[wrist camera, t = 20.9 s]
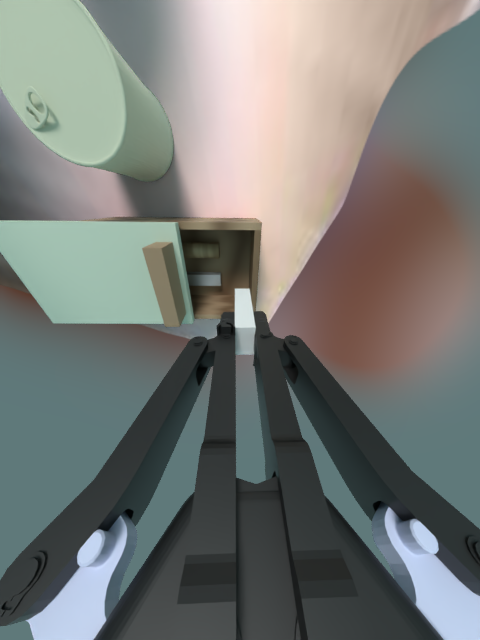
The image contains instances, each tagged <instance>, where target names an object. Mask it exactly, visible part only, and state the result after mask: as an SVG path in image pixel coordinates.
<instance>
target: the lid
mask: <svg viewBox="0 0 480 640" xmlns="http://www.w3.org/2000/svg"><path fill="white" fill-rule="evenodd" d="M0 252H1V254H2V255H3V256H4V258H5V259H6V260H7V262H8V263H9V264H10V266H11V267H12V268H13V270H14V271H15V272H16V274H17V275H18V276H19V278H20V279H21V280H22V282H23V283H24V285H25V286H26V287H27V289H28V290H29V291H30V293H31V294H32V295H33V297H34V298H35V299H36V301H37V302H38V303H39V305H40V306H41V307H42V309H43V310H44V311H45V313H46V314H47V316H48V317H49V318H50V320H51V321H52V322H53V323H101V324H102V323H104V324H105V323H106V324H108V323H109V324H116V323H117V324H118V323H119V324H164V325H165V327H180V325H181V324H193V322H194V320H195V319H194V314H193V308H192V302H191V296H190V290H189V284H188V278H187V272H186V266H185V260H184V254H183V249H182V243H181V237H180V231H179V225H178V222H118V221H23V220H0Z"/></svg>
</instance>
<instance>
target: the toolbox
mask: <svg viewBox="0 0 480 640" xmlns="http://www.w3.org/2000/svg"><path fill="white" fill-rule="evenodd" d="M82 221H118V222H178V225H179V231H180V237H181V243H182V249H183V254H184V260H185V266H186V272H187V278H188V284H189V290H190V296H191V302H192V308H193V314H194V319H221V315H222V314H223V312H235V289H250V295H251V301H252V308H253V311H256V297H257V283H258V269H259V255H260V241H261V226H262V223H261V222H260V221H259V220H258V219H256V218H168V217H112V218H102V219H92V220H82Z"/></svg>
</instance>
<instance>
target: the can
mask: <svg viewBox="0 0 480 640" xmlns="http://www.w3.org/2000/svg"><path fill="white" fill-rule="evenodd" d="M0 87H1V89H2V91H3V93H4V95H5V96H6V98H7V100H8V102H9V103H10V105H11V106H12V108H13V109H14V111H15V112H16V113H17V115H18V116H19V118H20V119H21V120H22V122H23V123H24V124H25V125H26V127H27V128H28V129H29V130H30V131H31V132H32V133H33V134H34V135H35V136H36V137H37V138H38V139H39V140H40V141H41V142H42V143H43V144H44V145H45V146H46V147H48V148H49V149H50V150H52V151H53V152H54V153H56V154H57V155H59V156H60V157H62V158H64V159H66V160H68V161H70V162H72V163H75V164H77V165H81V166H85V167H94V168H98V169H103V170H107V171H111V172H115V173H119V174H122V175H126V176H130V177H132V178H134V179H136V180H139V181H144V182H151V181H155V180H158V179H159V178H161V177H162V176H163V175H164V174H165V173H166V172H167V170H168V169H169V167H170V164H171V161H172V157H173V136H172V130H171V126H170V123H169V120H168V118H167V115H166V113H165V111H164V109H163V107H162V106H161V104H160V102H159V101H158V99H157V98H156V97H155V96H154V94H153V93H152V92H151V91H150V90H149V89H148V88H147V87H145V86H144V84H143V83H142V82H141V81H140V79H139V78H138V77H137V76H136V74H135V73H134V72H133V71H132V69H131V68H130V67H129V65H128V64H127V63H126V62H125V60H124V59H123V58H122V57H121V55H120V54H119V53H118V51H117V50H116V49H115V48H114V46H113V45H112V44H111V42H110V41H109V40H108V39H107V37H106V36H105V35H104V33H103V32H102V31H101V29H100V28H99V26H98V25H97V23H96V22H95V20H94V19H93V17H92V16H91V14H90V13H89V12H88V10H87V9H86V8H85V6H84V5H83V4H82V3H81V2H80V0H0Z"/></svg>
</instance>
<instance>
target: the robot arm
mask: <svg viewBox="0 0 480 640" xmlns="http://www.w3.org/2000/svg"><path fill="white" fill-rule="evenodd" d="M238 354H254V364H253V366H255V374H256V382H257V391H258V400H259V409H260V418H261V427H262V436H263V445H264V453H265V474H266V481H264V482H261V483H259V484H254V483H251V482H247V481H244V480H242V479H239V478H236V387H235V385H236V383H235V382H236V378H235V377H236V376H235V374H236V370H235V369H236V368H235V367H236V365H235V355H238ZM212 366H214V367H213V374H212V383H211V390H210V398H209V406H208V414H207V421H206V429H205V437H204V442H203V443H202V446H201V450H200V456H199V463H198V471H197V478H196V485H195V492H194V493H193V494H192V495H191V496H190V497H189V498H188V499H187V500H186V501H185V503H184V504H183V505H182V507H181V508H180V510H179V511H178V513H177V514H176V516H175V517H174V519H173V520H172V522H171V523H170V525H169V526H168V528H167V529H166V531H165V532H164V534H163V535H162V537H161V538H160V540H159V541H158V543H157V544H156V546H155V547H154V549H153V550H152V552H151V554H150V555H149V556H148V558H147V559H146V561H145V563H144V564H143V566H142V567H141V569H140V570H139V572H138V573H137V575H136V576H135V578H134V579H133V581H132V582H131V584H130V585H129V587H128V588H127V590H126V591H125V593H124V594H123V596H122V597H121V599H120V600H119V593H120V586H121V583H122V580H123V576H124V573H125V571H126V569H127V567H128V565H129V563H130V561H131V559H132V557H133V555H134V551H135V548H136V543H137V530H136V528H135V526H136V525H137V523H138V522H139V520H140V518H141V517H142V515H143V513H144V511H145V510H146V508H147V506H148V505H149V503H150V501H151V499H152V497H153V495H154V492H155V490H156V488H157V486H158V484H159V482H160V480H161V477H162V475H163V473H164V470H165V468H166V466H167V464H168V462H169V459H170V457H171V455H172V453H173V451H174V448H175V446H176V444H177V441H178V439H179V437H180V435H181V433H182V430H183V428H184V426H185V424H186V421H187V419H188V417H189V415H190V413H191V410H192V408H193V406H194V404H195V402H196V399H197V397H198V395H199V393H200V390H201V388H202V386H203V383H204V381H205V379H206V377H207V375H208V373H209V370H210V368H211V367H212ZM286 379H287V381H288V383H289V384H290V386H291V388H292V390H293V391H294V393H295V395H296V397H297V398H298V400H299V402H300V404H301V405H302V407H303V409H304V411H305V413H306V415H307V416H308V418H309V420H310V422H311V423H312V425H313V427H314V429H315V430H316V432H317V434H318V436H319V437H320V439H321V441H322V443H323V444H324V446H325V448H326V450H327V451H328V453H329V455H330V457H331V459H332V460H333V462H334V464H335V465H336V467H337V469H338V471H339V473H340V474H341V476H342V478H343V480H344V481H345V483H346V485H347V486H348V488H349V490H350V491H351V493H352V494H353V496H354V498H355V499H356V501H357V502H358V504H359V505H360V506H361V508H362V509H363V511H364V512H365V513H366V515H367V516H368V517H369V518H370V520H371V521H372V531H373V539H374V542H375V544H376V546H377V548H378V549H379V550H380V551H381V552H382V554H383V555H384V557H385V559H386V560H387V562H388V564H389V566H390V568H391V571H392V573H393V575H394V579H395V580H394V579H393V577H392V576H391V575H390V574H389V572H388V571H387V570H386V569H385V567H384V566H383V565H382V564H381V563H380V562H379V560H378V559H377V558H376V557H375V555H374V554H373V553H372V552H371V550H370V549H369V548H368V547H367V546H366V544H365V543H364V542H363V541H362V539H361V538H360V537H359V536H358V535H357V533H356V532H355V531H354V530H353V529H352V527H351V526H350V525H349V524H348V522H347V521H346V520H345V519H344V518H343V516H342V515H341V514H340V513H339V512H338V510H337V509H336V508H335V507H334V505H333V504H332V503H331V502H330V501H329V500H328V499H327V498H326V497H325V496H324V493H323V490H322V487H321V484H320V480H319V477H318V473H317V470H316V467H315V463H314V460H313V457H312V453H311V450H310V448H309V445H308V443H307V442H306V441H305V440H304V439H303V438H302V435H301V432H300V428H299V425H298V421H297V417H296V414H295V410H294V407H293V403H292V400H291V396H290V393H289V389H288V386H287V382H286ZM21 621H28V622H29V624H30V627H31V631H32V634H33V637H34V640H480V529H479V528H477V527H476V526H475V525H474V524H473V523H472V522H470V521H469V520H468V519H467V518H466V517H465V516H464V515H462V514H461V513H460V512H459V511H458V510H457V509H455V508H454V507H453V506H452V505H451V504H450V503H448V502H447V501H446V500H445V499H444V498H443V497H441V496H440V495H439V494H438V493H437V492H436V491H435V490H433V489H432V488H431V487H430V486H429V485H428V484H426V483H425V482H424V481H423V480H422V479H421V478H419V477H418V476H417V475H416V474H415V473H413V472H412V471H411V470H410V468H409V467H408V466H407V465H406V463H405V462H404V461H403V460H402V459H401V458H400V456H399V455H398V454H397V453H396V452H395V450H394V449H393V448H392V447H391V446H390V445H389V443H388V442H387V441H386V440H385V438H384V437H383V436H382V435H381V434H380V433H379V431H378V430H377V429H376V428H375V426H374V425H373V424H372V423H371V422H370V421H369V419H368V418H367V417H366V416H365V415H364V413H363V412H362V411H361V410H360V409H359V407H358V406H357V405H356V404H355V403H354V401H353V400H352V399H351V398H350V397H349V395H348V394H347V393H346V392H345V391H344V390H343V388H342V387H341V386H340V385H339V384H338V382H337V381H336V380H335V379H334V378H333V376H332V375H331V374H330V373H329V372H328V370H327V369H326V368H325V367H324V366H323V364H322V363H321V362H320V361H319V360H318V359H317V357H316V356H315V355H314V354H313V353H312V351H311V350H310V349H309V348H308V347H307V345H306V344H305V343H304V342H303V341H302V340H301V339H300V338H299V337H297V336H293V335H289V336H286V337H285V339H281V338H277V337H275V336H274V335H273V334H272V333H271V332H270V329H269V325H268V322H267V317H266V314H265V313H264V312H263V311H253V308H252V301H251V295H250V289H235V312H223V314H222V315H221V321H220V323H219V324H218V325H217V336H216V337H215V338H213V339H209V340H207V339H206V338H205V337H201V336H198V337H194V338H192V339H191V340H190V341H189V342H188V344H187V345H186V347H185V348H184V350H183V351H182V353H181V354H180V356H179V357H178V359H177V360H176V361H175V363H174V364H173V366H172V367H171V369H170V370H169V371H168V373H167V375H166V376H165V377H164V379H163V380H162V382H161V383H160V385H159V386H158V387H157V389H156V391H155V392H154V393H153V395H152V396H151V398H150V399H149V401H148V402H147V404H146V405H145V406H144V408H143V409H142V411H141V412H140V414H139V415H138V417H137V418H136V420H135V421H134V422H133V424H132V425H131V427H130V428H129V430H128V431H127V433H126V434H125V436H124V437H123V438H122V440H121V441H120V443H119V444H118V446H117V447H116V449H115V450H114V452H113V453H112V455H111V456H110V457H109V459H108V460H107V462H106V463H105V465H104V466H103V468H102V469H101V470H100V472H99V473H98V475H97V476H96V478H95V479H94V480H93V481H92V482H91V483H90V484H89V485H88V486H87V488H86V489H84V490H83V491H82V492H81V493H80V494H79V496H77V498H75V499H74V500H73V501H72V503H70V504H69V505H68V506H67V507H66V508H65V509H64V510H63V512H62V513H61V514H60V515H58V516H57V517H56V518H55V519H54V521H53V522H52V523H50V524H49V525H48V526H47V528H46V529H45V530H43V531H42V533H40V534H39V535H38V536H37V537H36V539H34V541H33V542H31V543H30V545H28V547H26V549H25V550H24V551H23V552H22V553H21V554H20V555H19V556H18V557H17V558H16V559H15V561H14V562H13V563H12V564H11V565H10V566H9V568H8V569H7V570H6V572H5V574H4V575H3V577H2V579H1V580H0V626H7V625H10V624H14V623H18V622H21Z"/></svg>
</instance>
